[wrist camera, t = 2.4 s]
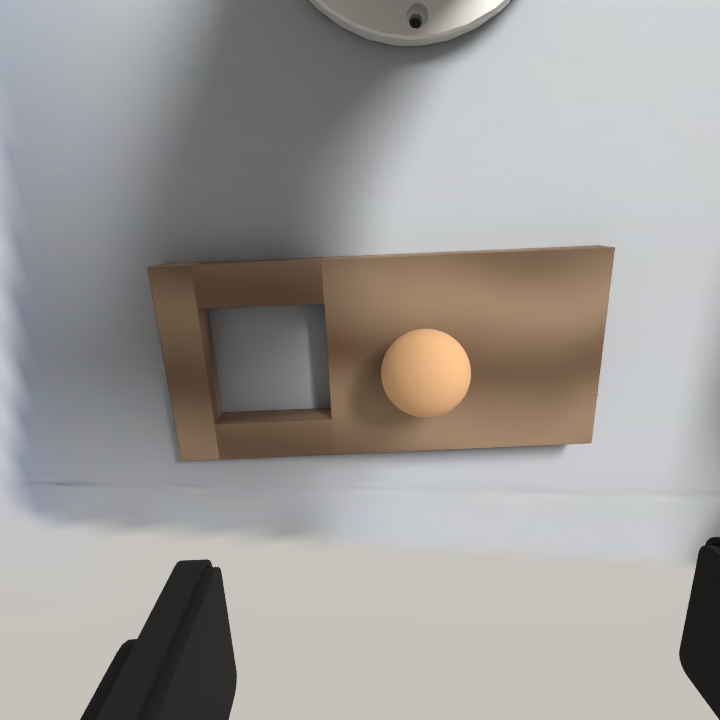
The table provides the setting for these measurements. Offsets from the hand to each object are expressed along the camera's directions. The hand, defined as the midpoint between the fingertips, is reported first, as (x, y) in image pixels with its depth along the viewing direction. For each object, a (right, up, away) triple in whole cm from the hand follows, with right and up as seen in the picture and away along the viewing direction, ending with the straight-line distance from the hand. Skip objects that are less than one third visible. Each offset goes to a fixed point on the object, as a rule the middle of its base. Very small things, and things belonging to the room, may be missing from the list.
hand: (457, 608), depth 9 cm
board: (-1, +5, +15) cm, 16 cm away
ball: (+1, +4, +12) cm, 13 cm away
